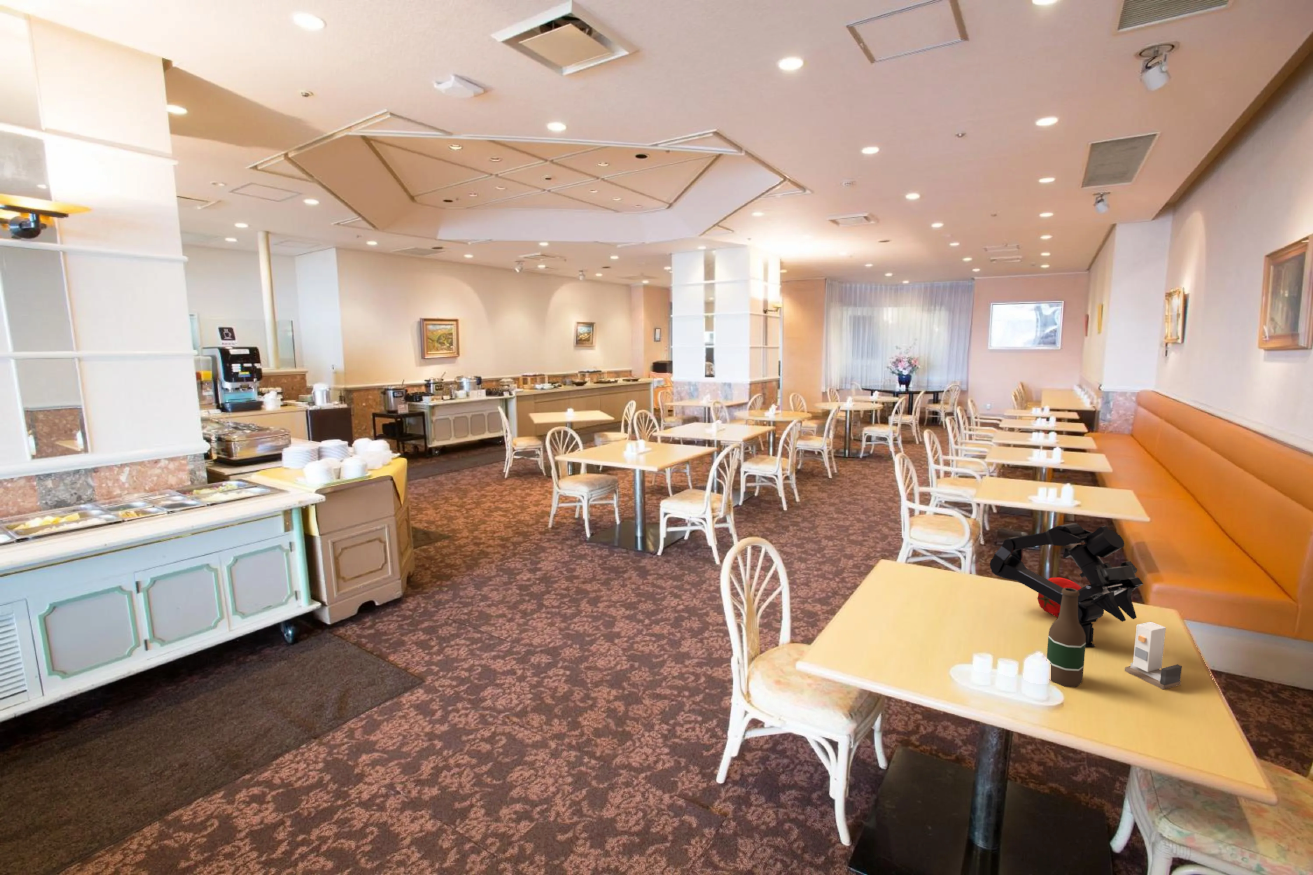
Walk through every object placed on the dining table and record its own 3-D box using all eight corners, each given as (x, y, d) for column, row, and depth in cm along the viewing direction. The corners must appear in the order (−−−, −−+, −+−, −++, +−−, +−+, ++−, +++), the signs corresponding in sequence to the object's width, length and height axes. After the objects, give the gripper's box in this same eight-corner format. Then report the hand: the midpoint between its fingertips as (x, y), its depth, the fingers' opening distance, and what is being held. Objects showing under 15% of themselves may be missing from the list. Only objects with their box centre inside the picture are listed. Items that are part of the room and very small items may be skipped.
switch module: (1131, 665, 155) (1135, 624, 153) (1146, 661, 156) (1150, 621, 155) (1145, 672, 152) (1149, 630, 150) (1161, 668, 153) (1165, 627, 152)
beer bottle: (1083, 691, 148) (1091, 598, 145) (1045, 682, 152) (1052, 592, 149) (1081, 676, 155) (1088, 587, 151) (1045, 668, 159) (1051, 581, 155)
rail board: (1124, 670, 157) (1126, 652, 156) (1141, 666, 158) (1143, 648, 158) (1163, 689, 148) (1165, 670, 147) (1180, 684, 150) (1182, 666, 149)
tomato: (1073, 618, 193) (1037, 624, 191) (1057, 579, 198) (1021, 584, 196) (1105, 612, 182) (1067, 617, 179) (1086, 570, 187) (1049, 575, 184)
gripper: (1088, 556, 157) (1129, 613, 149) (1138, 547, 163) (1180, 602, 154) (1057, 574, 166) (1094, 629, 157) (1106, 565, 172) (1144, 618, 163)
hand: (1129, 619), depth 158 cm, fingers open, 4 cm apart
